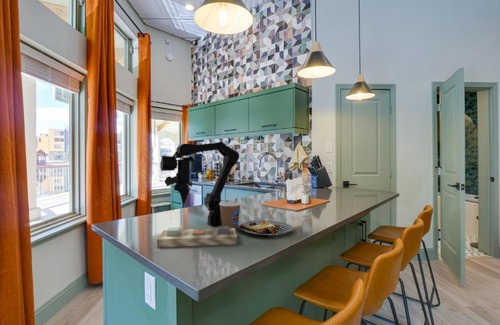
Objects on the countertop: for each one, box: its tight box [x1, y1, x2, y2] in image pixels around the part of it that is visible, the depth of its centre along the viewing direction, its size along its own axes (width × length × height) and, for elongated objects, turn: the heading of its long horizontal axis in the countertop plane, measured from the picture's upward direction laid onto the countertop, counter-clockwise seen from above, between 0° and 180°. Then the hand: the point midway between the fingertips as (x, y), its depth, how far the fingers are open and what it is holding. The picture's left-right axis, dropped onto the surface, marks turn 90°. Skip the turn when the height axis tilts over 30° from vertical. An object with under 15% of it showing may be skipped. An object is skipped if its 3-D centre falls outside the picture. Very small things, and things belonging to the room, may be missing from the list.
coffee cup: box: [219, 201, 242, 231], centre depth 120 cm, size 10×10×12 cm
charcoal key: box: [217, 225, 229, 234], centre depth 103 cm, size 4×4×4 cm
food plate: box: [238, 219, 295, 237], centre depth 117 cm, size 25×23×4 cm
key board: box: [156, 228, 238, 248], centre depth 102 cm, size 30×12×3 cm, turn 98°
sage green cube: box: [166, 226, 181, 236], centre depth 101 cm, size 4×4×4 cm
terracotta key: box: [193, 230, 205, 235], centre depth 102 cm, size 4×4×4 cm
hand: (183, 203), depth 119 cm, fingers closed
